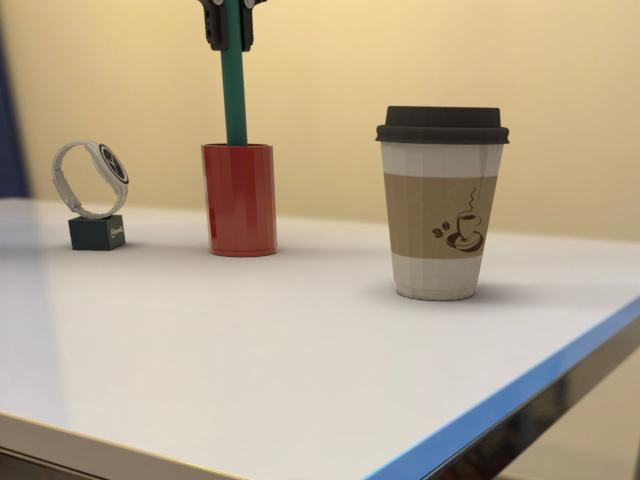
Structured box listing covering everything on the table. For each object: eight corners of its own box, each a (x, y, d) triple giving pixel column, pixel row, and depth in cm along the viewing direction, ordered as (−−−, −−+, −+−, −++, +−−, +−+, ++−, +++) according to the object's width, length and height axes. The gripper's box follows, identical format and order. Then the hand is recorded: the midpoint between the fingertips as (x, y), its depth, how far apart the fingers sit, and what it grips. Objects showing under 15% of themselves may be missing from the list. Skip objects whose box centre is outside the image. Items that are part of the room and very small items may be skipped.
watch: (127, 250, 88) (113, 143, 83) (56, 249, 88) (38, 141, 83) (142, 242, 93) (129, 140, 88) (75, 241, 93) (58, 139, 88)
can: (197, 250, 89) (187, 143, 84) (252, 243, 94) (246, 142, 89) (234, 259, 84) (226, 147, 79) (290, 252, 89) (286, 145, 84)
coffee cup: (421, 311, 64) (429, 106, 57) (349, 286, 72) (348, 105, 65) (524, 297, 70) (542, 108, 63) (446, 275, 78) (455, 106, 71)
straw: (224, 157, 84) (211, -8, 77) (241, 157, 86) (230, -6, 79) (235, 159, 83) (223, -10, 76) (252, 158, 84) (242, -8, 77)
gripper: (254, -144, 78) (264, 55, 86) (126, -176, 70) (151, 49, 78) (300, -159, 74) (306, 53, 82) (169, -195, 65) (190, 46, 73)
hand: (230, 50), depth 80 cm, fingers closed on straw, 2 cm apart
